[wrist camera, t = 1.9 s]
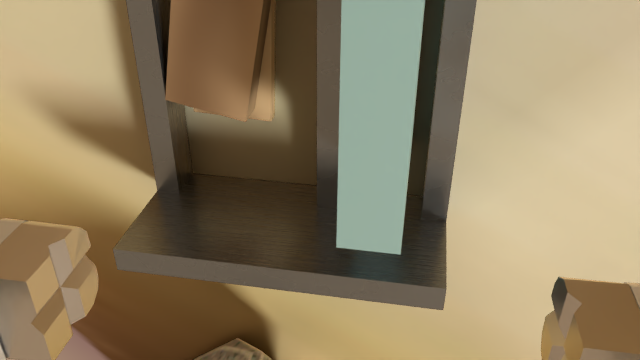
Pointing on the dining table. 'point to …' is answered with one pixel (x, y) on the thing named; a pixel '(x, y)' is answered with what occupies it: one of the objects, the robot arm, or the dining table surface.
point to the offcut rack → (290, 187)
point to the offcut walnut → (216, 54)
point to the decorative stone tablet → (234, 352)
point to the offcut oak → (265, 75)
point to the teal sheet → (376, 120)
